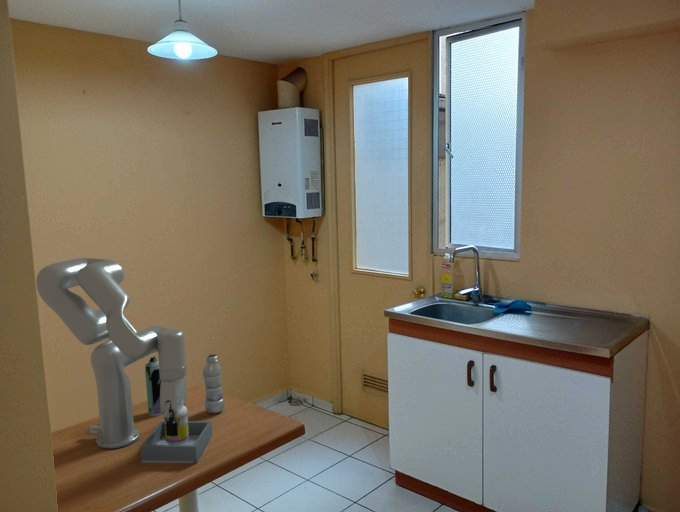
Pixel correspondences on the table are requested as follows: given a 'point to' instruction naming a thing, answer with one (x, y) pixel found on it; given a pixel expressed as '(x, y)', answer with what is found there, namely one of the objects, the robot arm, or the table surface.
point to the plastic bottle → (213, 385)
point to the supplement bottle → (179, 427)
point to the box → (187, 452)
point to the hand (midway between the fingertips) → (176, 429)
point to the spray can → (153, 387)
